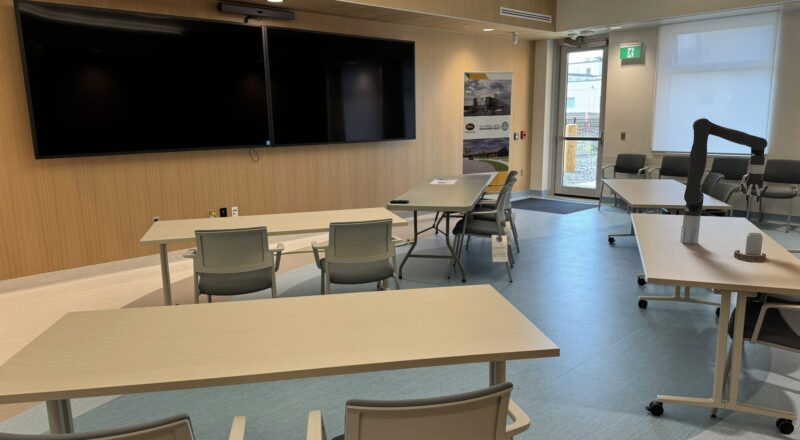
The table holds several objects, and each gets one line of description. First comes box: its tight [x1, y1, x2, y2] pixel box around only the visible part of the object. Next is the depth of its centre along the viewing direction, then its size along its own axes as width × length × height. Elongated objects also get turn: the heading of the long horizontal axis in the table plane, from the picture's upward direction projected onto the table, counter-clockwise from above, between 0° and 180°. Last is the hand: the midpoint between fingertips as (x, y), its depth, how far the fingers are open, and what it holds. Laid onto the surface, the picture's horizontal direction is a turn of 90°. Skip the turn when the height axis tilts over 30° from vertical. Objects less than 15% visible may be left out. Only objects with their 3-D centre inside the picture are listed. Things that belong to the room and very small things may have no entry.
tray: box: [733, 249, 767, 262], centre depth 296 cm, size 15×13×3 cm
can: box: [745, 232, 764, 256], centre depth 304 cm, size 8×8×12 cm
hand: (752, 201), depth 317 cm, fingers open, 4 cm apart
